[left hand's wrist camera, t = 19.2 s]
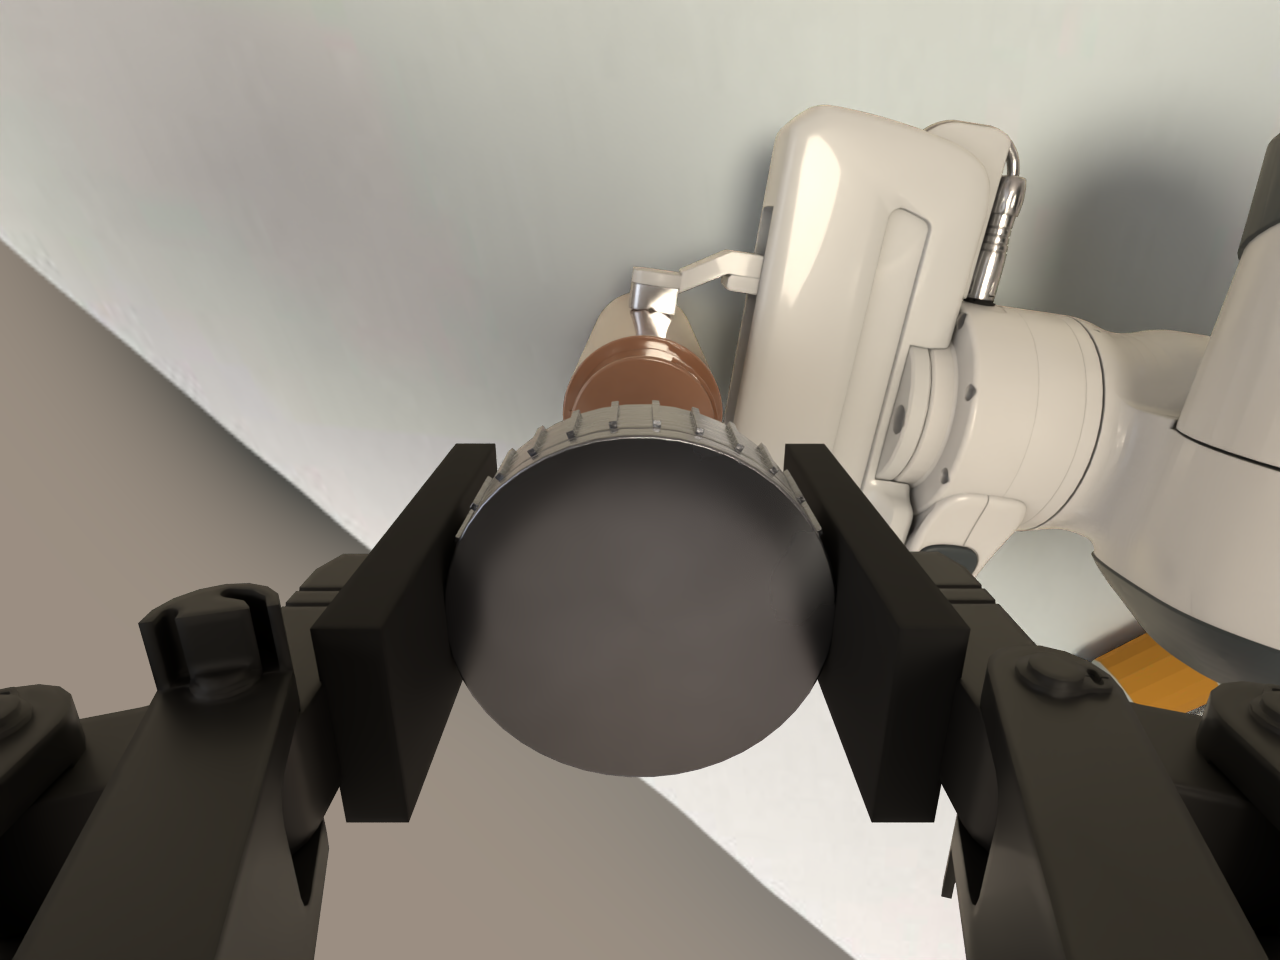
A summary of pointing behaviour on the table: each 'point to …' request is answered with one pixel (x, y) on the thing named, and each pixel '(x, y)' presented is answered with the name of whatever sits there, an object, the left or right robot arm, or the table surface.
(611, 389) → the jar
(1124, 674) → the spray gun
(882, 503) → the right robot arm
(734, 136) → the table surface
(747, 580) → the lid
